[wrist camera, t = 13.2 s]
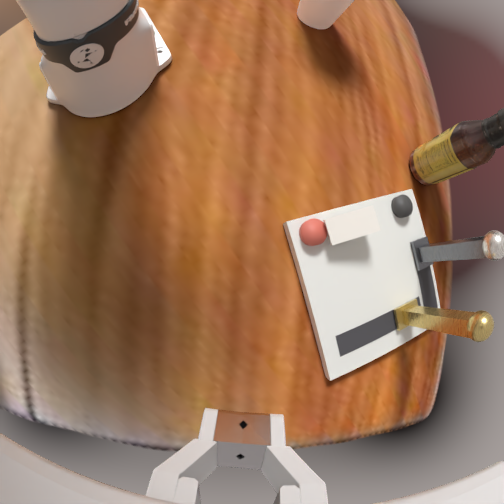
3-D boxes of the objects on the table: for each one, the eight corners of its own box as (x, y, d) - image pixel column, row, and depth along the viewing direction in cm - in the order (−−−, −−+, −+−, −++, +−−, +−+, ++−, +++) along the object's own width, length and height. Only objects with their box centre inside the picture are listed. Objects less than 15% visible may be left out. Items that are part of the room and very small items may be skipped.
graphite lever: (410, 242, 36) (495, 229, 22) (425, 236, 37) (507, 222, 22) (417, 270, 36) (502, 267, 22) (431, 263, 37) (514, 258, 22)
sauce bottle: (432, 155, 41) (521, 112, 21) (435, 190, 40) (533, 157, 21) (403, 144, 39) (495, 89, 20) (406, 182, 39) (510, 137, 19)
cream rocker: (322, 220, 34) (324, 219, 32) (369, 206, 33) (373, 205, 32) (330, 245, 34) (332, 245, 32) (376, 231, 33) (380, 230, 32)
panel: (282, 223, 35) (289, 219, 32) (405, 191, 39) (417, 186, 36) (325, 377, 35) (334, 383, 32) (435, 319, 38) (447, 320, 36)
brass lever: (393, 308, 35) (480, 321, 21) (414, 298, 36) (499, 304, 21) (397, 330, 35) (481, 351, 20) (418, 319, 36) (501, 333, 21)
